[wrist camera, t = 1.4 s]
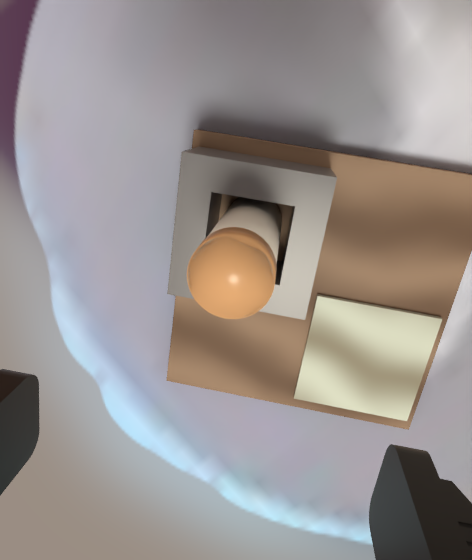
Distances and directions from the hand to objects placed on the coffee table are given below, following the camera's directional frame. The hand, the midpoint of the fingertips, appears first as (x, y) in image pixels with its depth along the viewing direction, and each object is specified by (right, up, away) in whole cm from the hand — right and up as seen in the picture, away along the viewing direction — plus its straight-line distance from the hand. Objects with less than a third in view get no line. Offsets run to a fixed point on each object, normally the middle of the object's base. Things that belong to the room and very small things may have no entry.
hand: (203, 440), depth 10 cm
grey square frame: (+2, +8, +22) cm, 23 cm away
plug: (+2, +8, +22) cm, 23 cm away
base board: (+6, +3, +24) cm, 25 cm away
